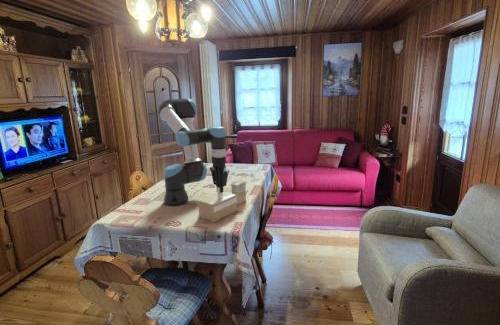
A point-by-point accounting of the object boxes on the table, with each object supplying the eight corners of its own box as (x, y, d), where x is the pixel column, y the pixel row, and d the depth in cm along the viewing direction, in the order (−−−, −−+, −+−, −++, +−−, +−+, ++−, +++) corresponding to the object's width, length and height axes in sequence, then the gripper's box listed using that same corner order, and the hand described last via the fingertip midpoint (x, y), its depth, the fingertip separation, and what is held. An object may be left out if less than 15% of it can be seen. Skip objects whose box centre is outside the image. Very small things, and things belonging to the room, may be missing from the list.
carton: (199, 217, 156) (198, 201, 154) (222, 206, 170) (221, 192, 168) (214, 222, 149) (213, 206, 147) (237, 211, 162) (236, 196, 160)
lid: (198, 201, 154) (198, 200, 154) (221, 192, 168) (221, 191, 168) (213, 206, 147) (213, 204, 147) (236, 196, 160) (236, 194, 160)
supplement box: (240, 199, 180) (239, 180, 177) (246, 201, 177) (245, 181, 174) (231, 203, 174) (230, 183, 171) (237, 205, 171) (236, 184, 168)
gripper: (205, 155, 151) (207, 196, 157) (222, 159, 143) (223, 202, 149) (215, 153, 156) (216, 193, 162) (232, 156, 149) (233, 198, 155)
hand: (220, 197), depth 156 cm, fingers closed
